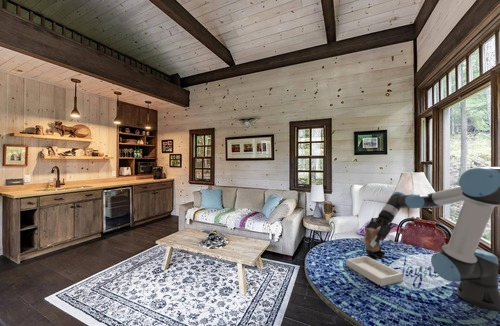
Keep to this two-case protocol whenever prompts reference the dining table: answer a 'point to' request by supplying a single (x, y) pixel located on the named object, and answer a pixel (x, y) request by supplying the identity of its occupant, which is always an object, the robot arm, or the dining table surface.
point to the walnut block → (369, 237)
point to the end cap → (376, 253)
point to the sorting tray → (374, 270)
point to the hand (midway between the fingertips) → (367, 243)
